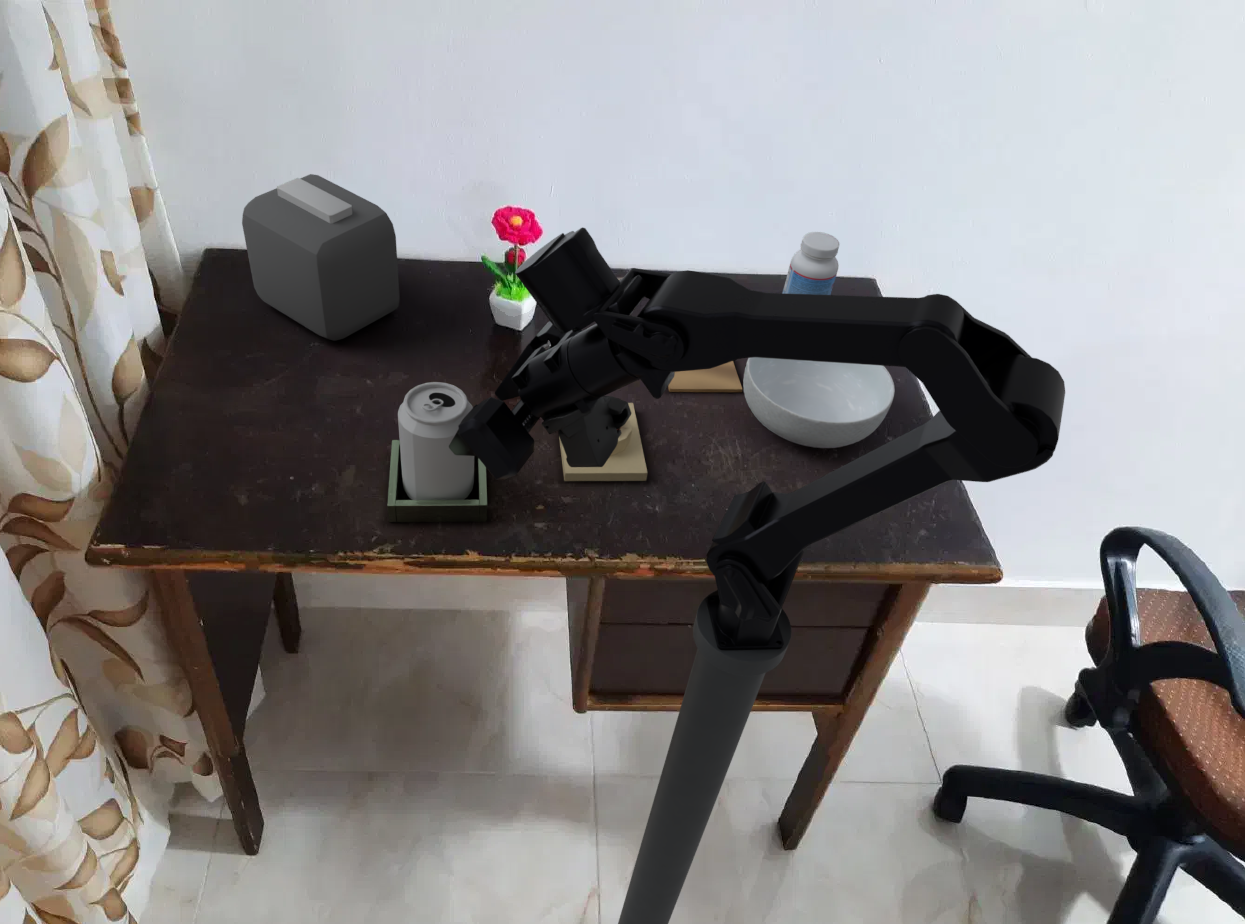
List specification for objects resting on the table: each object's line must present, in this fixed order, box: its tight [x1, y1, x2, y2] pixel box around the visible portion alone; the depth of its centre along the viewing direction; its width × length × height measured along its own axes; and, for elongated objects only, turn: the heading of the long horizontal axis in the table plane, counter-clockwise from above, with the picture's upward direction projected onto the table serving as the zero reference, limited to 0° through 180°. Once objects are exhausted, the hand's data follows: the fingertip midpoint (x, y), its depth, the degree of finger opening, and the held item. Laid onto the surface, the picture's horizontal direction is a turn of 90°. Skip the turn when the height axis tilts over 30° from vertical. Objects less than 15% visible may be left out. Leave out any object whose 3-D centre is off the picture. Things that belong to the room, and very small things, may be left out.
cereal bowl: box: [742, 357, 896, 449], centre depth 109 cm, size 17×17×7 cm
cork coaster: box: [667, 361, 743, 393], centre depth 118 cm, size 9×9×1 cm
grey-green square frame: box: [387, 439, 488, 523], centre depth 100 cm, size 10×10×2 cm
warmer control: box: [558, 402, 648, 482], centre depth 106 cm, size 12×9×3 cm
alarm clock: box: [241, 173, 401, 342], centre depth 116 cm, size 16×11×16 cm
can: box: [397, 381, 475, 500], centre depth 96 cm, size 8×8×12 cm
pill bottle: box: [782, 231, 840, 295], centre depth 124 cm, size 6×6×11 cm
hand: (476, 422), depth 92 cm, fingers open, 9 cm apart
